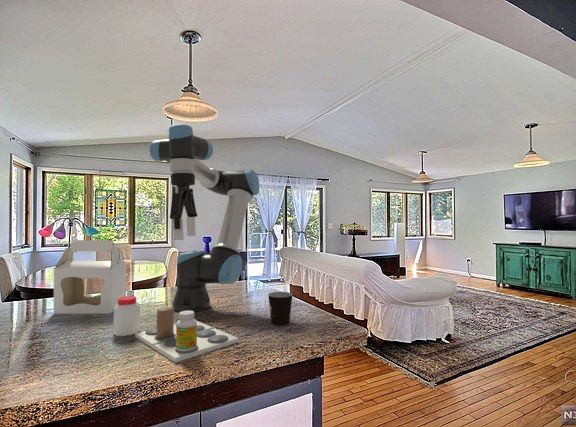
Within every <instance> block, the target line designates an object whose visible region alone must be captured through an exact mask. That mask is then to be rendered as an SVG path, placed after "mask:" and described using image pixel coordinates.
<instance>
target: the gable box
mask: <svg viewBox="0 0 576 427" xmlns="http://www.w3.org/2000/svg"><path fill="white" fill-rule="evenodd" d="M77 252H78V253H79V252H80V253H81V252H89V253H90V252H99V253H100V252H101V253H102V252H108V253H111V255H110V260H75V257H74V256H75V254H74V253H77ZM94 278H95V279H96V278H97V279H102V280H103V284H102V287H101V290H100V294H99V295H94V296H90V297H87V296H85V295H84V291H85V287H84V283H83V280H82V279H85V280H87V279H94ZM125 296H127V263H126V261H125V260H124V259H123V257H122V255H121V254H120V248H119V247H115V242H113V240H111V239H108V240H107V239H96V240H94V239H93V240H92V239H91V240H90V239H80V240H78V239H76V240H75V239H73V240H72V241H71V242H70V247H65V248H64V252H63V254H62V256H61V258H60V259H59V261H58V262H57V264H56V265H55V267H54V269H53V315H91V314H92V315H93V314H95V315H98V314H99V315H100V314H101V315H104V314H105V315H106V314H108V315H109V314H110V315H111V314H112V313H113V314H114V306H115V305H116V304H118V298H120V297H125Z"/></svg>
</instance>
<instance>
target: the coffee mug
mask: <svg viewBox="0 0 576 427" xmlns="http://www.w3.org/2000/svg"><path fill="white" fill-rule="evenodd" d="M267 295H268V305H269V311H270V312H269V314H270V323H271V324H272V325H274V326H278V327H279V326H288V325H289V324H290V319H291V312H292V311H291V310H292V304H293V303H292V302H293V293H291V292H289V291H273V292H269V293H268V294H267Z"/></svg>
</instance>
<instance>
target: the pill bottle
mask: <svg viewBox="0 0 576 427" xmlns="http://www.w3.org/2000/svg"><path fill="white" fill-rule="evenodd" d="M139 332H141V304H140V303H139V302H137V296H134V295H128V296H127V295H126V296H125V297H120V298H118V304H116V305H115V306H114V312H113V332H112V333H113V335H114V336H115V337H116V336H117V337H126V336H127V335H128V336H131V335H135V333H139Z"/></svg>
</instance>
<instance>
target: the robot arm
mask: <svg viewBox="0 0 576 427" xmlns="http://www.w3.org/2000/svg"><path fill="white" fill-rule="evenodd" d="M213 147H214V146H213V144H212V143H211V142H210V141H209V140H207V139H205V138H203V137H198V136H197V135H194V132H193V128H192V126H191V125H188V124H184V123H183V124H179V123H178V124H172V125H170V126H169V128H168V139H159V140H154V141H152V142H151V143H150V145H149V154H150V157H151V158H152V159H153V161H155V162H166V163H168V166H169V167H170V172H171V174H170V185H171V186H173V187H172V198H171V205H170V206H171V207H170V212H169V214H170V215H169V219H170V220H172V222H173V223H172V224H173V226H172V227H173V240H174V241H183V240H185V239H184V238H185V237H184V221H183V220H184V219H183V218H182V217H183V212H184V209H185V213H186V215H187V217H186V218H185V219H186V234H187V237H188V236H189V237H195V236H196V234H197V233H196V218H197V217H198V213H197V207H196V204H195V197H194V189H193V188H190V187H191V186H195V184H196V181H197V182H200V184H201V186H202V187H203V188H205V189H206V190H209V191H211V192H213V193H215V194H219V195H222V196H227V197H228V202H227V205H226V210H225V213H224V215H223V216H224V217H223V220H222V225H221V228H220V232H219V236H218V239H217V243H216V245H214V246H212V247H211V250H210V253H207V251H206V249H202V250H195V251H187V252H181V253H179V254H178V255H177V257H176V258H177V259H176V291H175V294H174V297H173V301H172V303H171V304H172V305H171V308H174V312H179V313H180V312H182V311H194V312H199V311H204V310H207V309H208V308H210V307H211V300H210V299H211V298H210V296H209V292H208V289H207V284H217V285H220V284H221V285H231V284H234V283H236V282H237V281H238V280H239V278H240V277H241V274H242V271H243V264H244V263H243V259H242V256H241V255H240V251H239V250H238V248H239V243H240V239H241V233H242V229H243V226H244V221H245V216H246V214H247V208H248V204H249V203H251V202H252V201H253V197H254V196H257V195H258V194H260V181H259V177H258V174H257V173H256V171H255V170H252V169H243V170H242V169H241V170H217V169H216V168H212V167H209V166H208V165H206V163H203V161H206V160H209V159H210V158H212V155H213V153H214V148H213Z"/></svg>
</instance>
